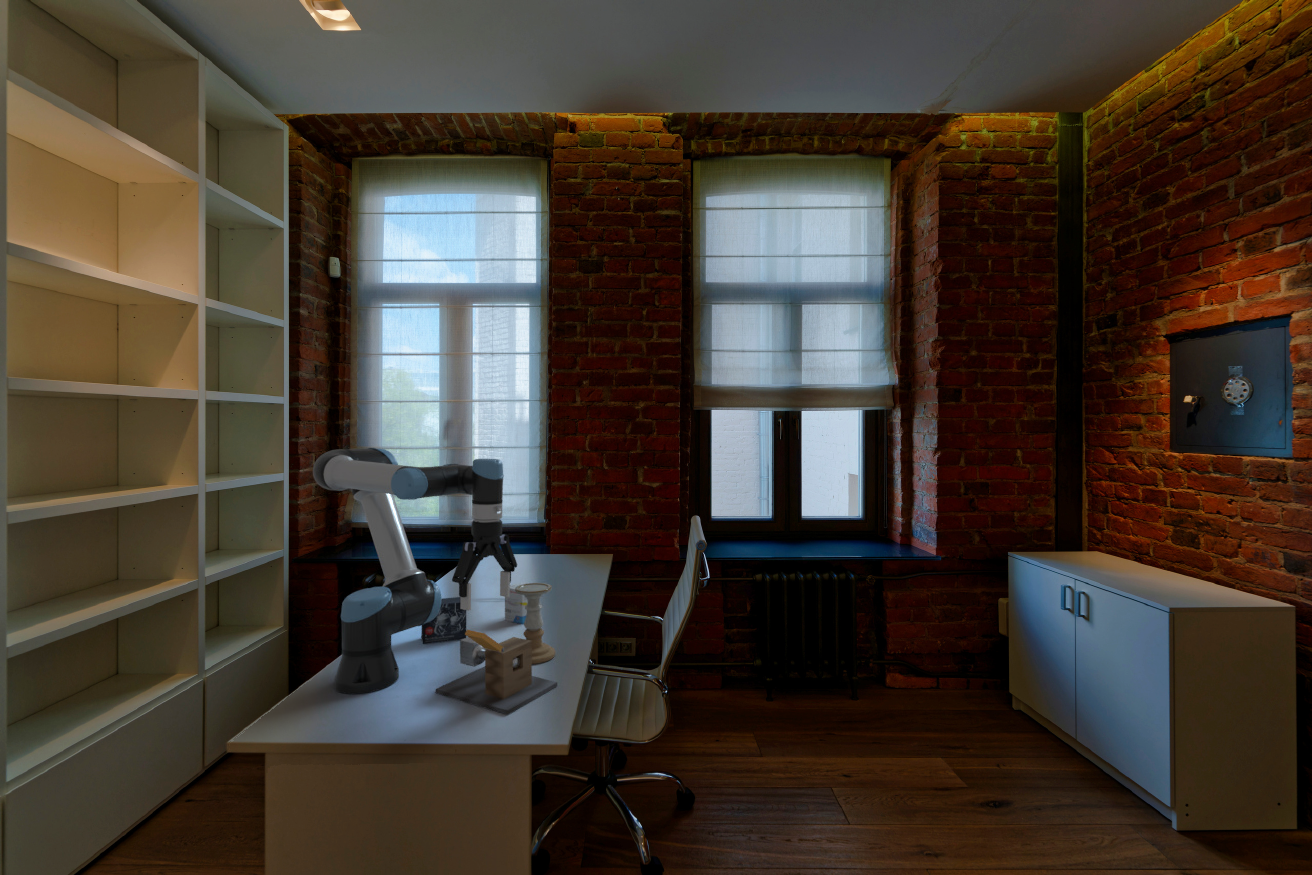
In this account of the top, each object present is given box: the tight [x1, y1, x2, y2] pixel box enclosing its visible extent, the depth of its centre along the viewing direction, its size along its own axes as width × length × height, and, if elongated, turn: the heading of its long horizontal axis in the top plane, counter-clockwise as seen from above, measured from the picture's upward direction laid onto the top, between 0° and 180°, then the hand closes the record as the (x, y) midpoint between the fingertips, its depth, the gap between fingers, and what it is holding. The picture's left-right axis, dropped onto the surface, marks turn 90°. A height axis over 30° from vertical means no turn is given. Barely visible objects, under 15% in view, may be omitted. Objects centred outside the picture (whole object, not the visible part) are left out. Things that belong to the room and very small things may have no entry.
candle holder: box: [515, 582, 556, 665], centre depth 177 cm, size 12×12×20 cm
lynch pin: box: [459, 636, 520, 668], centre depth 155 cm, size 18×5×6 cm, turn 60°
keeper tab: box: [465, 629, 504, 652], centre depth 145 cm, size 6×9×1 cm
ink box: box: [504, 581, 528, 625], centre depth 212 cm, size 8×8×12 cm
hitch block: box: [434, 636, 558, 716], centre depth 154 cm, size 24×18×12 cm
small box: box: [420, 596, 467, 645], centre depth 192 cm, size 13×7×12 cm, turn 114°
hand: (485, 602), depth 156 cm, fingers open, 13 cm apart
